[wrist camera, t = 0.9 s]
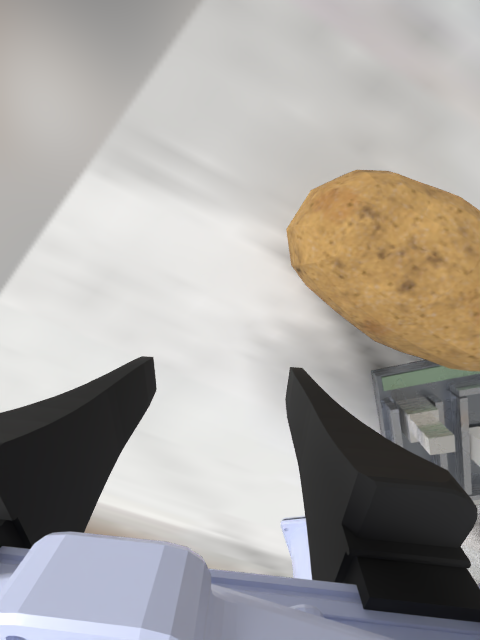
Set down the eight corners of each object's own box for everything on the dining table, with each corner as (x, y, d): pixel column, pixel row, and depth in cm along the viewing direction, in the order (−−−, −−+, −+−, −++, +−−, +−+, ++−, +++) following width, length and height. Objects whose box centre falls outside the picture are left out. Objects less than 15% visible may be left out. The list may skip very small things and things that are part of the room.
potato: (333, 159, 17) (412, 55, 8) (477, 284, 19) (676, 310, 10) (262, 254, 20) (264, 253, 11) (395, 359, 21) (495, 435, 12)
